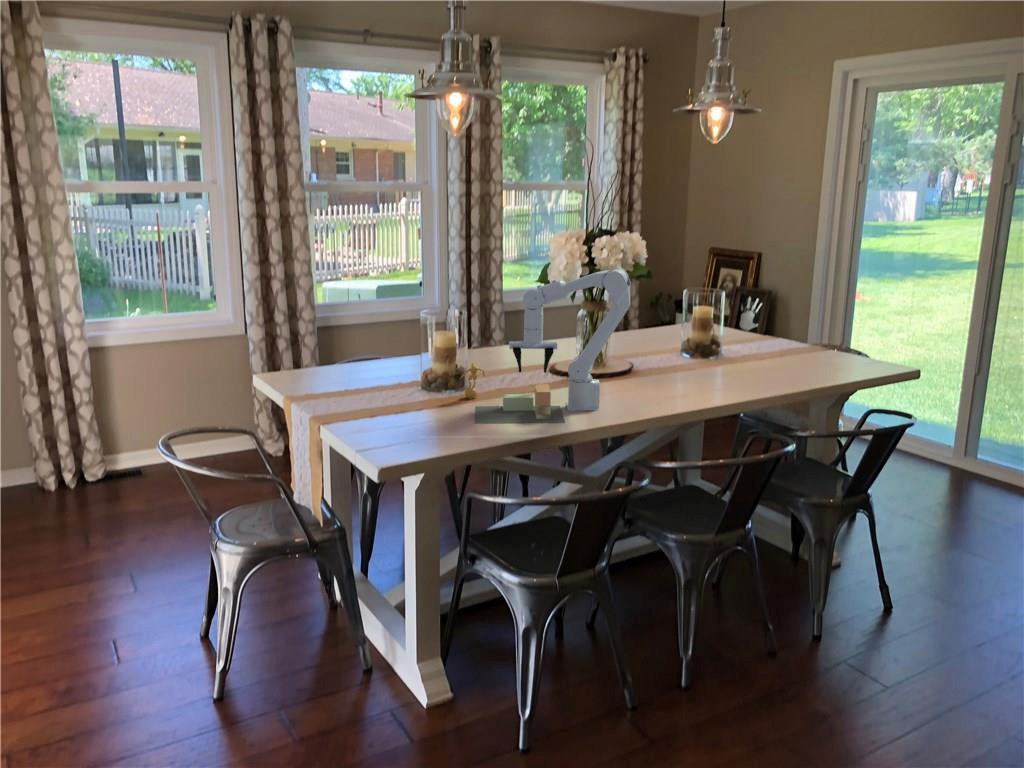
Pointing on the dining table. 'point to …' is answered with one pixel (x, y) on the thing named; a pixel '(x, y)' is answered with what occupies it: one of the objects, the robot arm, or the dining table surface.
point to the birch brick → (542, 411)
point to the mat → (514, 415)
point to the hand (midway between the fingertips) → (532, 371)
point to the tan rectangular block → (542, 394)
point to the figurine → (470, 391)
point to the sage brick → (517, 402)
